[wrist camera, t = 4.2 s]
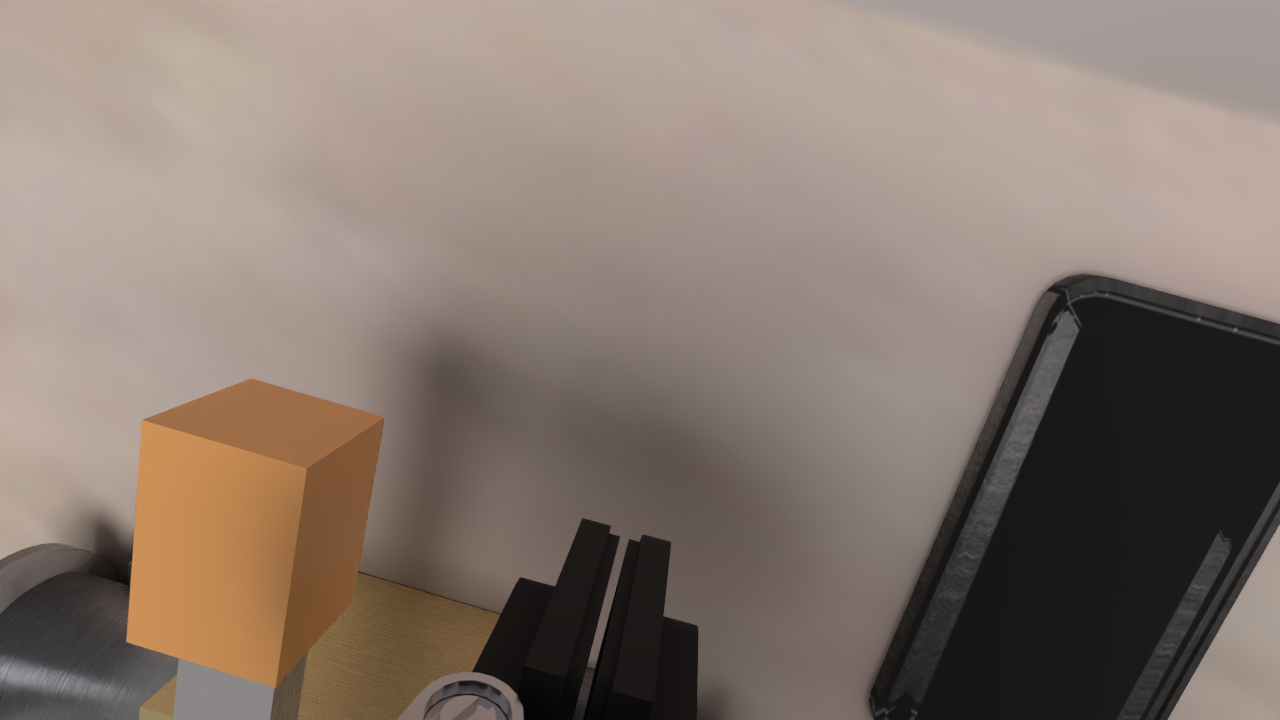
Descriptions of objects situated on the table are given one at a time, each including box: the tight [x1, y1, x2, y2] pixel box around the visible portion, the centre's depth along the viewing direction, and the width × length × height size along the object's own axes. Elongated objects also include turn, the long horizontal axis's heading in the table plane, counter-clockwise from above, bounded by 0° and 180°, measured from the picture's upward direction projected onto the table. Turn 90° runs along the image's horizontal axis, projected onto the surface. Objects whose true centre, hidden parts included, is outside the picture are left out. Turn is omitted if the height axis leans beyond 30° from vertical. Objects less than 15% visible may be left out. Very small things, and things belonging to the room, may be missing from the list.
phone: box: [869, 274, 1280, 720], centre depth 19 cm, size 8×1×15 cm
